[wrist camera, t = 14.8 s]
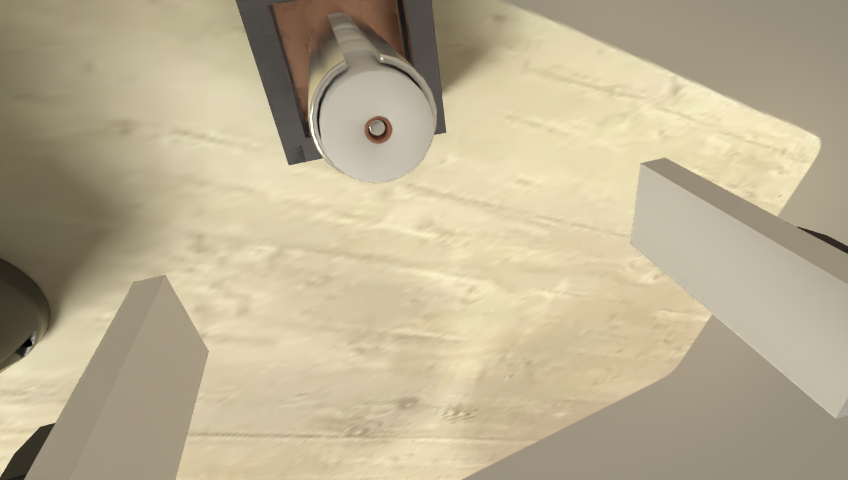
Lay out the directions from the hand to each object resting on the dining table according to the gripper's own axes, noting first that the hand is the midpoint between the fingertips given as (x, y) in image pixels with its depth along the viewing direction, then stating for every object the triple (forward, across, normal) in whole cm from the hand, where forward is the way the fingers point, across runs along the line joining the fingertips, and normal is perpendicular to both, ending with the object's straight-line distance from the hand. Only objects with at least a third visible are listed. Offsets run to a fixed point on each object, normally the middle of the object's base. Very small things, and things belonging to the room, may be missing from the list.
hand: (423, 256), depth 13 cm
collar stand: (+37, 0, 0) cm, 37 cm away
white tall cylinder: (+36, 0, 0) cm, 36 cm away
